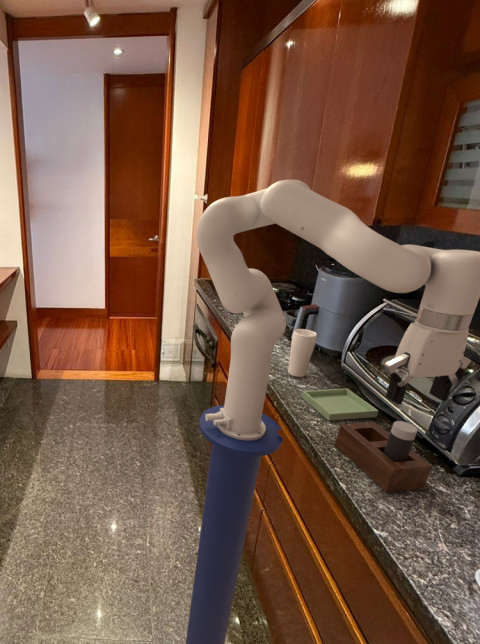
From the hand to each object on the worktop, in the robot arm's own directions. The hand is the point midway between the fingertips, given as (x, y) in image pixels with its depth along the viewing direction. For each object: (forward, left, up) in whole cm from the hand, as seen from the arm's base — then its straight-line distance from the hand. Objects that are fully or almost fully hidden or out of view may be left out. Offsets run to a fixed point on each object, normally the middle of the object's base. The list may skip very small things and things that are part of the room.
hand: (415, 399), depth 77 cm
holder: (0, +4, -20) cm, 20 cm away
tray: (+8, +27, -20) cm, 34 cm away
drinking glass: (+8, +47, -20) cm, 52 cm away
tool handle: (0, 0, -20) cm, 20 cm away
